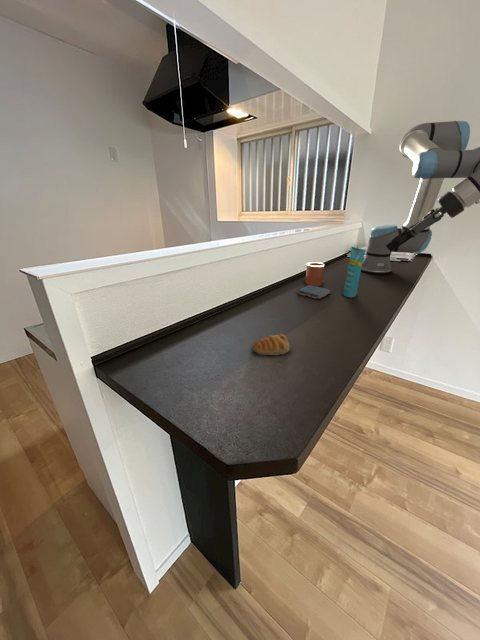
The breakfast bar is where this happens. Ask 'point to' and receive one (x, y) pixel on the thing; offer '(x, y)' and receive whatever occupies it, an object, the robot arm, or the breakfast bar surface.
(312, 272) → the cup
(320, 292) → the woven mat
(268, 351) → the pastry
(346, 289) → the tube
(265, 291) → the breakfast bar surface
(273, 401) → the breakfast bar surface
